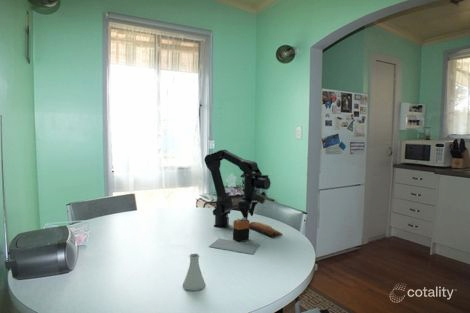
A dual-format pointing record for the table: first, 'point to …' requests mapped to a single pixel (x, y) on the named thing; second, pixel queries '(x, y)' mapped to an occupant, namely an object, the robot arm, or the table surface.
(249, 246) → the rubber mat
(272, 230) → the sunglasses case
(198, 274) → the flask
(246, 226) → the battery
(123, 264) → the table surface
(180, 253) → the table surface
